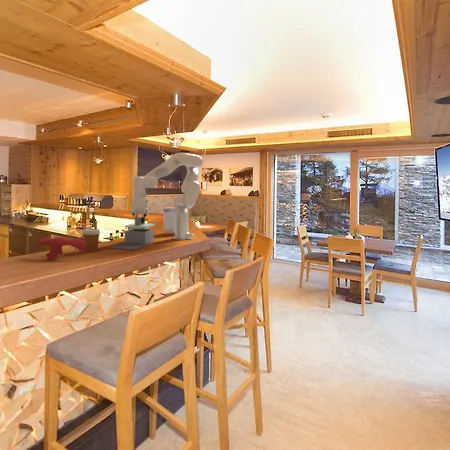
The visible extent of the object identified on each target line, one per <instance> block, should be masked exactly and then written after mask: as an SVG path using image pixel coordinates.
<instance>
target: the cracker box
mask: <svg viewBox="0 0 450 450" xmlns="http://www.w3.org/2000/svg"><path fill="white" fill-rule="evenodd" d="M163 235H174V236H175V207H174V206H172V207H170V206H169V207H168V206H166V207H163Z"/></svg>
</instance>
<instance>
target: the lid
mask: <svg viewBox="0 0 450 450" xmlns="http://www.w3.org/2000/svg"><path fill="white" fill-rule="evenodd" d="M141 218H142V216H138V217H136V218H135V217H134V222H133V223H129V224H126V225H124V228H127V229H128V230H130V229H150V228H152V227H153V226H155V225H156V224H155V223H146V221H145V222H144V224H142V220H141Z"/></svg>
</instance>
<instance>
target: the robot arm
mask: <svg viewBox="0 0 450 450" xmlns="http://www.w3.org/2000/svg"><path fill="white" fill-rule="evenodd" d="M203 163H204V160H203V157H201V156H200V155H198V154H193V153H186V152H177V153H174V154H172V155H171V156H170V157H169V158H167V159H166V160H165V161H163V162H162V163H161V164H160V165H158V166H156V167H155V168H153V169H152V170H150V171H149V172H148V173H146V174H145V175H144V176H133V178H132V185H133V186H132V189H133V190H132V191H133V193H132V194H133V197H132V199H131V207H130V208H131V209H130V211H129V214H131V215H132V216H133V218H134V219H135V218H136V217H139V216H138V214H141V217H142V218H141V220H142V224H144V222H145V223H146V217H147V216H148V215H149V214H150V213H151V212H150V210H149V203H148V198H147V196H148V193H146V188H147V189H148V188H149V189H153V188H156V187H158V184H159V181H158V180H159V179H162V178H165V177H167V176H169V175H170V174H172V173H174V171H175V170H176V169H178V168H179V167H180V166H185V168H186V175H185V178H184V179H183V182H182V184H181V188H180V189H181V192H182V193H183V194H178V195H176V196H175V197H174V199H173V205H174V206H173V207H175V235H174V236H172V239H174V240H184V241H185V240H190V239H191V237H193V238H194V236H195V234H194V233H190V231H189V209H192V208H193V207H194V206H195V204H196V202H197V200H198V196H199V195H200V192H201V184H200V183H199V182H198V179H199V175H200V174H199V169H198V168H201V167H202V165H203Z"/></svg>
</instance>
